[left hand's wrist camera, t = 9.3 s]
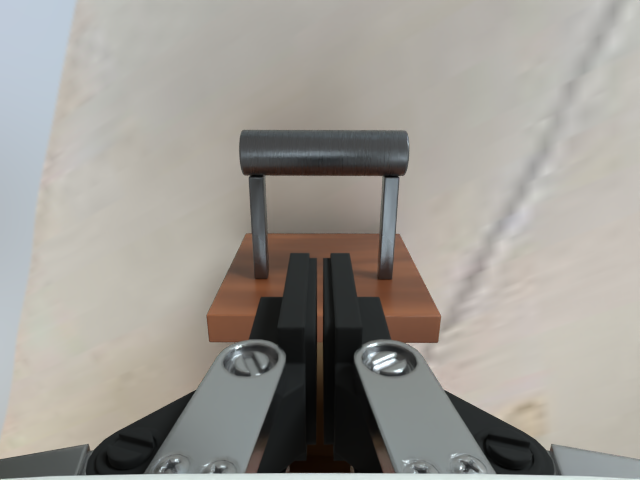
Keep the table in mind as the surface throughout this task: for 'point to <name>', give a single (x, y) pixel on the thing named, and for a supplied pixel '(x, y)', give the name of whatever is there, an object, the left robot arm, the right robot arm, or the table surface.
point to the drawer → (324, 248)
